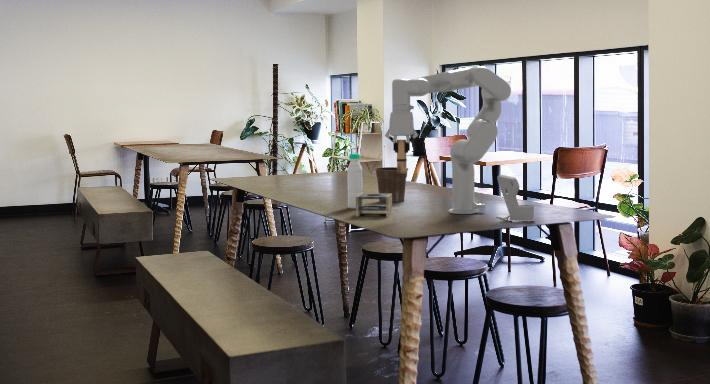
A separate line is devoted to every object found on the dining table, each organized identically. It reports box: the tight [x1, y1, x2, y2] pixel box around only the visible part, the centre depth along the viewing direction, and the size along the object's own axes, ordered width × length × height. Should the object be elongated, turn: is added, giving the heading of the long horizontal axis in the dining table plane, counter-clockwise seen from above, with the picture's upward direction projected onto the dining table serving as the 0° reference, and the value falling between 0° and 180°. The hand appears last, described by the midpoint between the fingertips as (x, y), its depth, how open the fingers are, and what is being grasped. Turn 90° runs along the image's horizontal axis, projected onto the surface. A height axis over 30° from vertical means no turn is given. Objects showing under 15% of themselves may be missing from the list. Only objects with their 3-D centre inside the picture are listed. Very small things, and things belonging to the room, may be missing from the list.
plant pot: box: [374, 166, 409, 204], centre depth 406 cm, size 16×16×16 cm
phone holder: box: [496, 174, 535, 221], centre depth 340 cm, size 17×10×18 cm, turn 14°
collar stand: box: [355, 193, 393, 218], centre depth 362 cm, size 14×12×8 cm
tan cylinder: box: [396, 139, 408, 174], centre depth 352 cm, size 4×4×14 cm
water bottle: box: [346, 153, 364, 210], centre depth 385 cm, size 7×7×25 cm
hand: (401, 152), depth 352 cm, fingers closed on tan cylinder, 4 cm apart
